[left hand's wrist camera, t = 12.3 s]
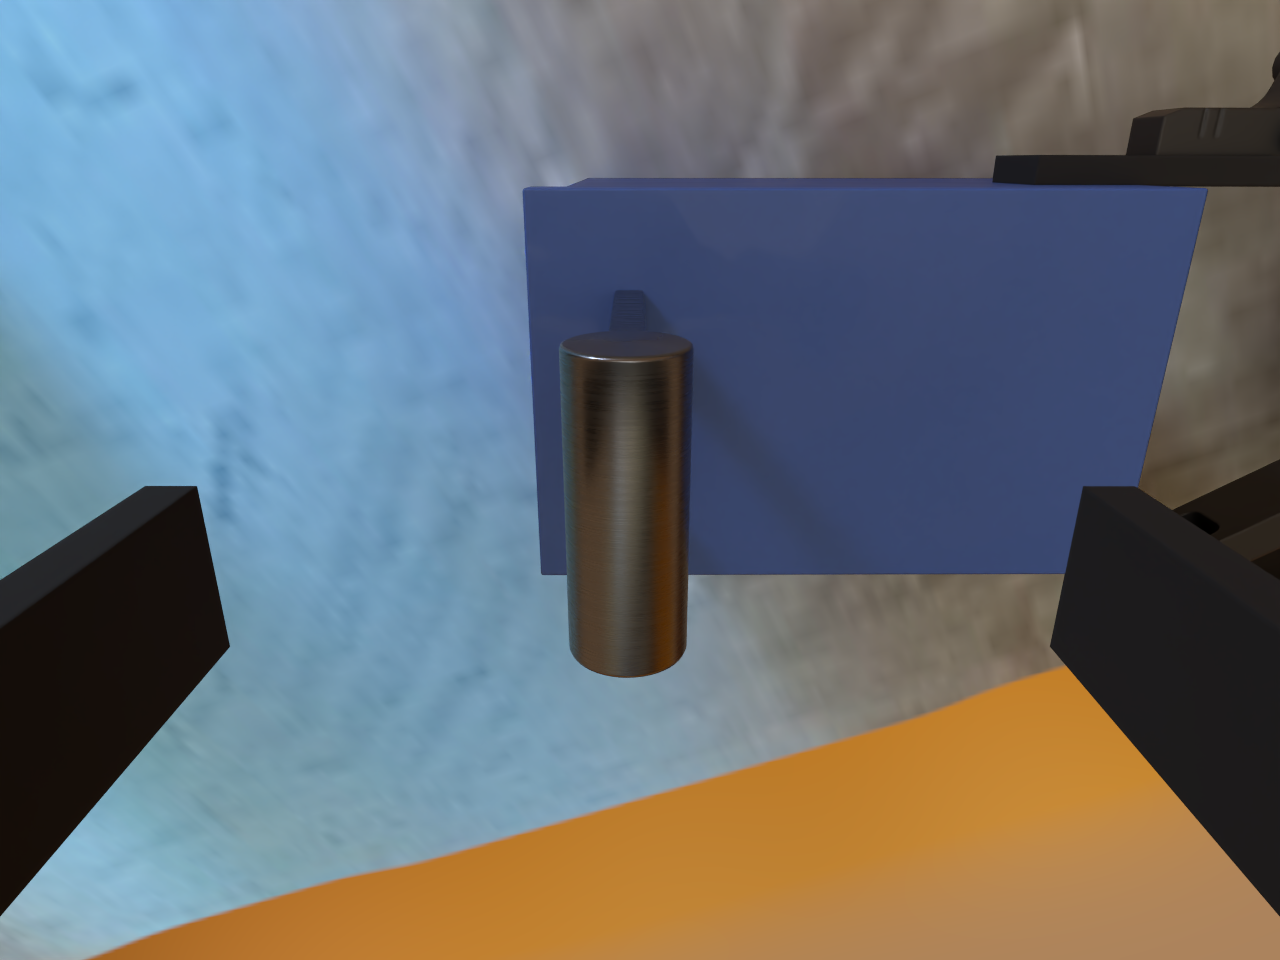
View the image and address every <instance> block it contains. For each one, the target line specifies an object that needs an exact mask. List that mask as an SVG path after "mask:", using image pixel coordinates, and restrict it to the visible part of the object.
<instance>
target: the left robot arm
mask: <svg viewBox="0 0 1280 960" xmlns="http://www.w3.org/2000/svg"><path fill="white" fill-rule="evenodd" d="M229 647H230V644H229V639H228V634H227V630H226V625H225V620H224V615H223V610H222V605H221V601H220V596H219V591H218V586H217V581H216V576H215V571H214V567H213V562H212V557H211V552H210V547H209V542H208V537H207V533H206V528H205V523H204V518H203V513H202V508H201V503H200V499H199V494H198V489H197V486H145V487H143V488H142V489H140V490H139V491H137V492H135V493H134V494H132V495H131V496H129V497H128V498H126V499H125V500H123V501H122V502H120V503H119V504H117V505H115V506H114V507H112V508H111V509H109V510H108V511H106V512H105V513H103V514H102V515H100V516H98V517H97V518H95V519H94V520H92V521H91V522H89V523H88V524H86V525H85V526H83V527H82V528H80V529H78V530H77V531H75V532H74V533H72V534H71V535H69V536H68V537H66V538H65V539H63V540H61V541H60V542H58V543H57V544H55V545H54V546H52V547H51V548H49V549H48V550H46V551H45V552H43V553H41V554H40V555H38V556H37V557H35V558H34V559H32V560H31V561H29V562H28V563H26V564H24V565H23V566H21V567H20V568H18V569H17V570H15V571H14V572H12V573H11V574H9V575H8V576H6V577H4V578H3V579H1V580H0V916H1V915H2V914H3V913H4V911H5V910H6V909H7V908H8V907H9V906H10V904H11V903H12V902H13V901H14V900H15V898H16V897H17V896H18V895H19V894H20V893H21V891H22V890H23V889H24V888H25V887H26V886H27V884H28V883H29V882H30V881H31V880H32V879H33V877H34V876H35V875H36V874H37V873H38V871H39V870H40V869H41V868H42V867H43V866H44V864H45V863H46V862H47V861H48V860H49V859H50V857H51V856H52V855H53V854H54V853H55V852H56V850H57V849H58V848H59V847H60V846H61V844H62V843H63V842H64V841H65V840H66V839H67V837H68V836H69V835H70V834H71V833H72V832H73V830H74V829H75V828H76V827H77V826H78V825H79V823H80V822H81V821H82V820H83V819H84V817H85V816H86V815H87V814H88V813H89V812H90V810H91V809H92V808H93V807H94V806H95V805H96V803H97V802H98V801H99V800H100V799H101V797H102V796H103V795H104V794H105V793H106V792H107V790H108V789H109V788H110V787H111V786H112V785H113V783H114V782H115V781H116V780H117V779H118V778H119V776H120V775H121V774H122V773H123V772H124V770H125V769H126V768H127V767H128V766H129V765H130V763H131V762H132V761H133V760H134V759H135V758H136V756H137V755H138V754H139V753H140V752H141V751H142V749H143V748H144V747H145V746H146V745H147V743H148V742H149V741H150V740H151V739H152V738H153V736H154V735H155V734H156V733H157V732H158V731H159V729H160V728H161V727H162V726H163V725H164V724H165V722H166V721H167V720H168V719H169V718H170V716H171V715H172V714H173V713H174V712H175V711H176V709H177V708H178V707H179V706H180V705H181V704H182V702H183V701H184V700H185V699H186V698H187V697H188V695H189V694H190V693H191V692H192V691H193V689H194V688H195V687H196V686H197V685H198V684H199V682H200V681H201V680H202V679H203V678H204V677H205V675H206V674H207V673H208V672H209V671H210V669H211V668H212V667H213V666H214V665H215V664H216V662H217V661H218V660H219V659H220V658H221V657H222V655H223V654H224V653H225V652H226V651H227V650H228V648H229ZM1050 647H1051V648H1052V650H1053V651H1054V652H1055V653H1056V654H1057V655H1058V657H1059V658H1060V659H1061V660H1062V661H1063V662H1064V664H1065V665H1066V666H1067V667H1068V668H1069V669H1070V671H1071V672H1072V673H1073V674H1074V675H1075V676H1076V678H1077V679H1078V680H1079V681H1080V682H1081V684H1082V685H1083V686H1084V687H1085V688H1086V689H1087V691H1088V692H1089V693H1090V694H1091V695H1092V696H1093V698H1094V699H1095V700H1096V701H1097V702H1098V704H1099V705H1100V706H1101V707H1102V708H1103V709H1104V711H1105V712H1106V713H1107V714H1108V715H1109V716H1110V718H1111V719H1112V720H1113V721H1114V722H1115V724H1116V725H1117V726H1118V727H1119V728H1120V729H1121V731H1122V732H1123V733H1124V734H1125V735H1126V736H1127V738H1128V739H1129V740H1130V741H1131V742H1132V743H1133V745H1134V746H1135V747H1136V748H1137V749H1138V750H1139V752H1140V753H1141V754H1142V755H1143V756H1144V758H1145V759H1146V760H1147V761H1148V762H1149V763H1150V765H1151V766H1152V767H1153V768H1154V769H1155V770H1156V772H1157V773H1158V774H1159V775H1160V776H1161V777H1162V779H1163V780H1164V781H1165V782H1166V783H1167V785H1168V786H1169V787H1170V788H1171V789H1172V790H1173V792H1174V793H1175V794H1176V795H1177V796H1178V797H1179V799H1180V800H1181V801H1182V802H1183V803H1184V805H1185V806H1186V807H1187V808H1188V809H1189V810H1190V812H1191V813H1192V814H1193V815H1194V816H1195V817H1196V819H1197V820H1198V821H1199V822H1200V823H1201V824H1202V826H1203V827H1204V828H1205V829H1206V830H1207V832H1208V833H1209V834H1210V835H1211V836H1212V837H1213V839H1214V840H1215V841H1216V842H1217V843H1218V844H1219V846H1220V847H1221V848H1222V849H1223V850H1224V851H1225V853H1226V854H1227V855H1228V856H1229V857H1230V859H1231V860H1232V861H1233V862H1234V863H1235V864H1236V866H1237V867H1238V868H1239V869H1240V870H1241V871H1242V873H1243V874H1244V875H1245V876H1246V877H1247V878H1248V880H1249V881H1250V882H1251V883H1252V884H1253V886H1254V887H1255V888H1256V889H1257V890H1258V891H1259V893H1260V894H1261V895H1262V896H1263V897H1264V898H1265V900H1266V901H1267V902H1268V903H1269V904H1270V905H1271V907H1272V908H1273V909H1274V910H1275V911H1276V913H1277V914H1278V915H1279V916H1280V580H1279V579H1277V578H1276V577H1274V576H1272V575H1271V574H1269V573H1268V572H1266V571H1265V570H1263V569H1262V568H1260V567H1259V566H1257V565H1256V564H1254V563H1252V562H1251V561H1249V560H1248V559H1246V558H1245V557H1243V556H1242V555H1240V554H1239V553H1237V552H1235V551H1234V550H1232V549H1231V548H1229V547H1228V546H1226V545H1225V544H1223V543H1222V542H1220V541H1219V540H1217V539H1215V538H1214V537H1212V536H1211V535H1209V534H1208V533H1206V532H1205V531H1203V530H1202V529H1200V528H1198V527H1197V526H1195V525H1194V524H1192V523H1191V522H1189V521H1188V520H1186V519H1185V518H1183V517H1182V516H1180V515H1178V514H1177V513H1175V512H1174V511H1172V510H1171V509H1169V508H1168V507H1166V506H1165V505H1163V504H1161V503H1160V502H1158V501H1157V500H1155V499H1154V498H1152V497H1151V496H1149V495H1148V494H1146V493H1145V492H1143V491H1141V490H1140V489H1138V488H1137V487H1135V486H1083V489H1082V494H1081V499H1080V503H1079V508H1078V513H1077V518H1076V523H1075V528H1074V533H1073V537H1072V542H1071V547H1070V552H1069V557H1068V562H1067V567H1066V571H1065V576H1064V581H1063V586H1062V591H1061V596H1060V601H1059V605H1058V610H1057V615H1056V620H1055V625H1054V630H1053V634H1052V639H1051V644H1050Z"/></svg>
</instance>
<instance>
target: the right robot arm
mask: <svg viewBox="0 0 1280 960" xmlns="http://www.w3.org/2000/svg"><path fill="white" fill-rule="evenodd" d="M1272 74H1273V78H1274V80H1275V81H1274V82H1273V84H1272V86H1271V88H1270V89H1269V91H1268V92H1267V94H1266V95H1265V96H1264V98H1263V99H1261V100H1260V101H1259V102H1258V103H1257V104H1255V105H1254V106H1252V107H1251V108H1177V109H1166V110H1156V111H1151V112H1149V113H1146V114H1144V115H1141V116H1139V117H1136V118H1134V119H1133V123H1132V128H1131V133H1130V138H1129V143H1128V148H1127V153H1126V155H1012V156H996V160H995V167H994V174H993V181H992V182H993V183H1009V184H1025V185H1148V186H1232V187H1280V52H1279V54H1278V55H1277V57H1276V58H1275V61H1274V64H1273V67H1272ZM1172 511H1174V512H1175V513H1177V514H1178V515H1180V516H1182V517H1183V518H1185V519H1186V520H1188V521H1189V522H1191V523H1192V524H1194V525H1195V526H1197V527H1198V528H1200V529H1202V530H1203V531H1205V532H1206V533H1208V534H1209V535H1211V536H1212V537H1214V538H1215V539H1217V540H1219V541H1220V542H1222V543H1223V544H1225V545H1226V546H1228V547H1229V548H1231V549H1232V550H1234V551H1235V552H1237V553H1239V554H1240V555H1242V556H1243V557H1245V558H1246V559H1248V560H1249V561H1251V562H1252V563H1254V564H1256V565H1257V566H1259V567H1260V568H1262V569H1263V570H1265V571H1266V572H1268V573H1269V574H1271V575H1272V576H1274V577H1276V578H1277V579H1279V580H1280V460H1278V461H1275V462H1273V463H1271V464H1269V465H1267V466H1265V467H1263V468H1261V469H1258V470H1256V471H1254V472H1252V473H1250V474H1248V475H1246V476H1244V477H1241V478H1239V479H1237V480H1235V481H1233V482H1231V483H1229V484H1227V485H1225V486H1222V487H1220V488H1218V489H1216V490H1214V491H1212V492H1210V493H1208V494H1205V495H1203V496H1201V497H1199V498H1197V499H1195V500H1193V501H1191V502H1188V503H1186V504H1184V505H1182V506H1180V507H1178V508H1176V509H1174V510H1172Z"/></svg>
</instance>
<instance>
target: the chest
mask: <svg viewBox="0 0 1280 960" xmlns="http://www.w3.org/2000/svg"><path fill="white" fill-rule="evenodd" d="M992 181H993V178H587V179H585V180H583V181H580V182H578V183H575V184H572V185H570V186H567V187H1168V186H1148V185H1025V184H1009V183H993V182H992Z"/></svg>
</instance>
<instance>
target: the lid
mask: <svg viewBox="0 0 1280 960" xmlns="http://www.w3.org/2000/svg"><path fill="white" fill-rule="evenodd" d="M1207 192H1208V189H1206V188H1190V187H528V188H525V189H523V208H524V228H525V249H526V270H527V290H528V311H529V332H530V352H531V373H532V394H533V414H534V435H535V456H536V477H537V497H538V518H539V539H540V559H541V573H542V575H567V590H568V618H569V646H570V650H571V652H572V654H573V656H574V658H575V659H576V660H577V661H578V662H579V663H580V664H581V665H583V666H584V667H585V668H587V669H589V670H591V671H594V672H596V673H599V674H603V675H607V676H612V677H623V678H631V677H642V676H648V675H652V674H656V673H659V672H661V671H664V670H666V669H668V668H670V667H671V666H673V665H674V664H675V663H676V662H678V661H679V659H680V658H681V657H682V655H683V653H684V651H685V649H686V642H687V600H688V575H769V574H1065V571H1066V567H1067V562H1068V557H1069V552H1070V547H1071V542H1072V537H1073V533H1074V528H1075V523H1076V518H1077V513H1078V508H1079V503H1080V499H1081V494H1082V489H1083V486H1135V487H1137V488H1138V485H1139V481H1140V477H1141V472H1142V468H1143V464H1144V460H1145V455H1146V451H1147V447H1148V443H1149V438H1150V434H1151V430H1152V426H1153V421H1154V417H1155V413H1156V409H1157V404H1158V400H1159V396H1160V392H1161V388H1162V383H1163V379H1164V375H1165V371H1166V366H1167V362H1168V358H1169V354H1170V349H1171V345H1172V341H1173V337H1174V332H1175V328H1176V324H1177V320H1178V315H1179V311H1180V307H1181V303H1182V298H1183V294H1184V290H1185V286H1186V281H1187V277H1188V273H1189V269H1190V264H1191V260H1192V256H1193V252H1194V247H1195V243H1196V239H1197V235H1198V231H1199V226H1200V222H1201V218H1202V214H1203V209H1204V205H1205V201H1206V197H1207Z"/></svg>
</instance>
